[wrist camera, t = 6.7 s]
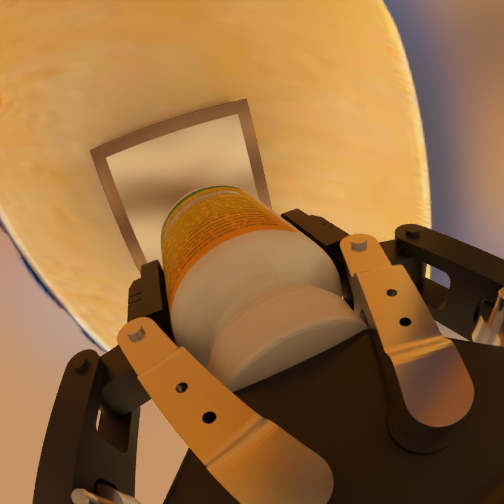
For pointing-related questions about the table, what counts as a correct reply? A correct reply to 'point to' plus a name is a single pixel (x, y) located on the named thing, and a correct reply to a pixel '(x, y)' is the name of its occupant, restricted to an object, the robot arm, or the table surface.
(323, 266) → the supplement bottle
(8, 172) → the table surface
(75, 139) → the table surface
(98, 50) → the table surface
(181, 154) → the base slab
